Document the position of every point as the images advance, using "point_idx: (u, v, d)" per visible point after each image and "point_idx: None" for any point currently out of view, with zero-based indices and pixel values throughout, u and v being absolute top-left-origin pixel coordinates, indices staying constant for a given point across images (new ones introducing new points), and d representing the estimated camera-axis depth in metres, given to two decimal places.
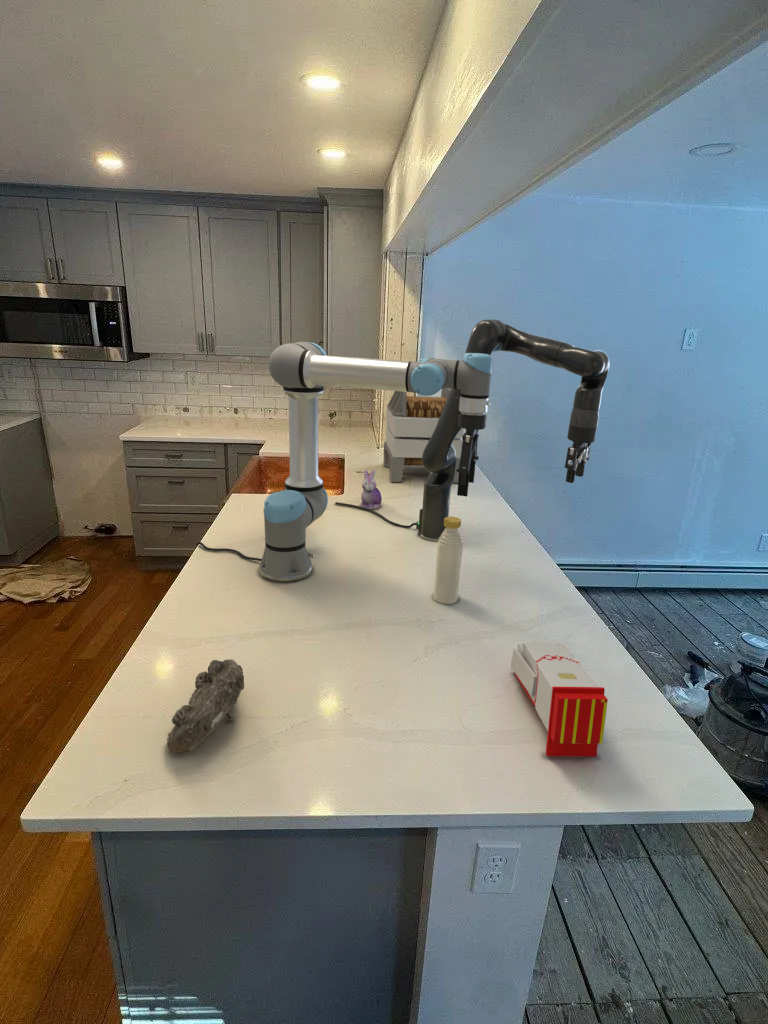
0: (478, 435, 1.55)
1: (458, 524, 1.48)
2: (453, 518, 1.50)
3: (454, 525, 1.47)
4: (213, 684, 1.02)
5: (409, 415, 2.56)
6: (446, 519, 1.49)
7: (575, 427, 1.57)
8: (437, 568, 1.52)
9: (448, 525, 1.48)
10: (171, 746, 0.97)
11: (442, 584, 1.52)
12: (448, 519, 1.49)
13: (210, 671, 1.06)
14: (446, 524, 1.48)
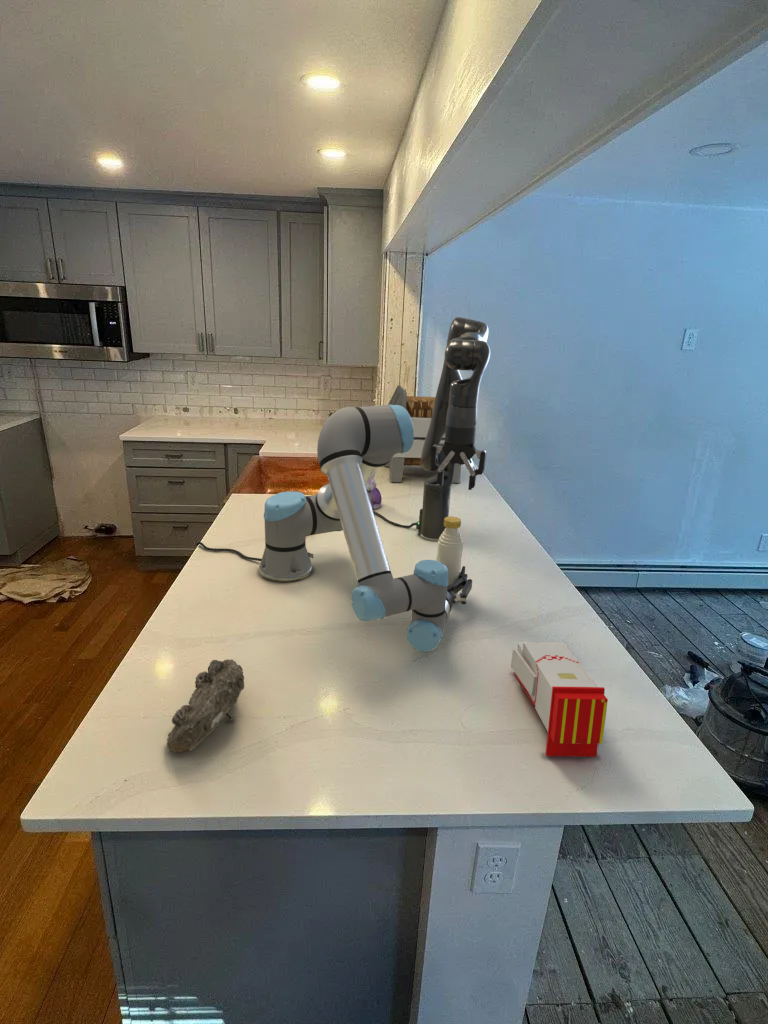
0: None
1: (458, 524, 1.48)
2: (453, 518, 1.50)
3: (454, 525, 1.47)
4: (213, 684, 1.02)
5: None
6: (446, 519, 1.49)
7: None
8: None
9: (448, 525, 1.48)
10: (171, 746, 0.97)
11: None
12: (448, 519, 1.49)
13: (210, 671, 1.06)
14: (446, 524, 1.48)
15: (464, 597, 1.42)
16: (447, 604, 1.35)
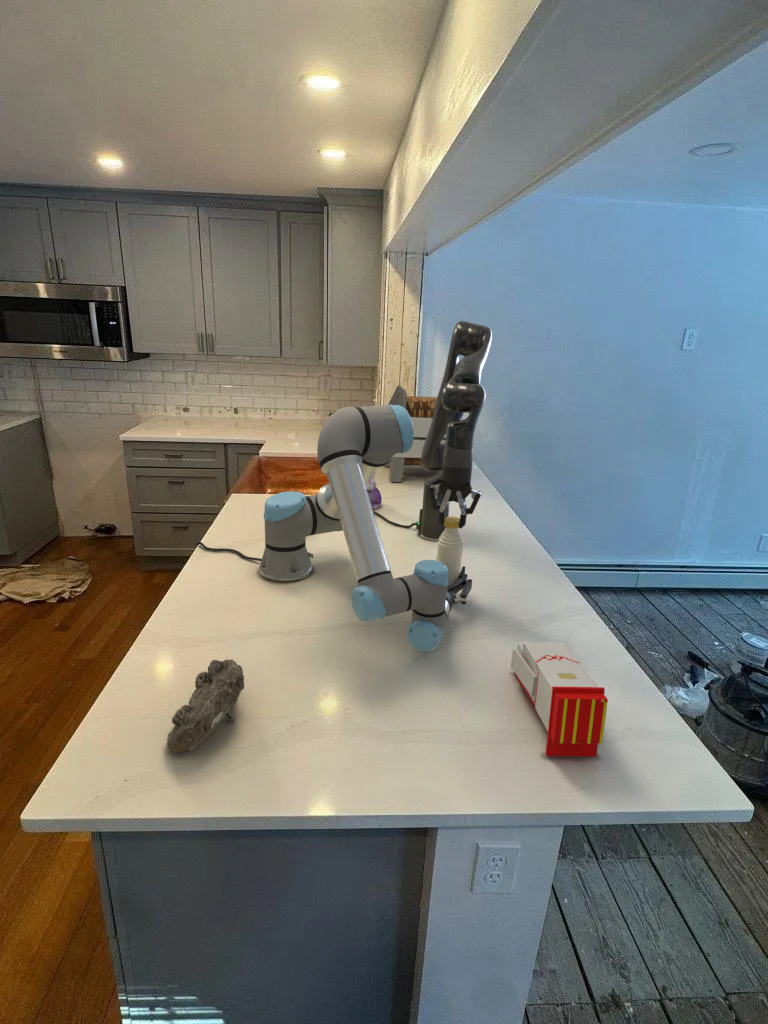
0: None
1: (458, 524, 1.48)
2: (453, 518, 1.50)
3: (454, 525, 1.47)
4: (213, 684, 1.02)
5: None
6: (446, 519, 1.49)
7: None
8: None
9: (448, 525, 1.48)
10: (171, 746, 0.97)
11: None
12: (448, 519, 1.49)
13: (210, 671, 1.06)
14: (446, 524, 1.48)
15: (464, 597, 1.42)
16: (447, 604, 1.35)
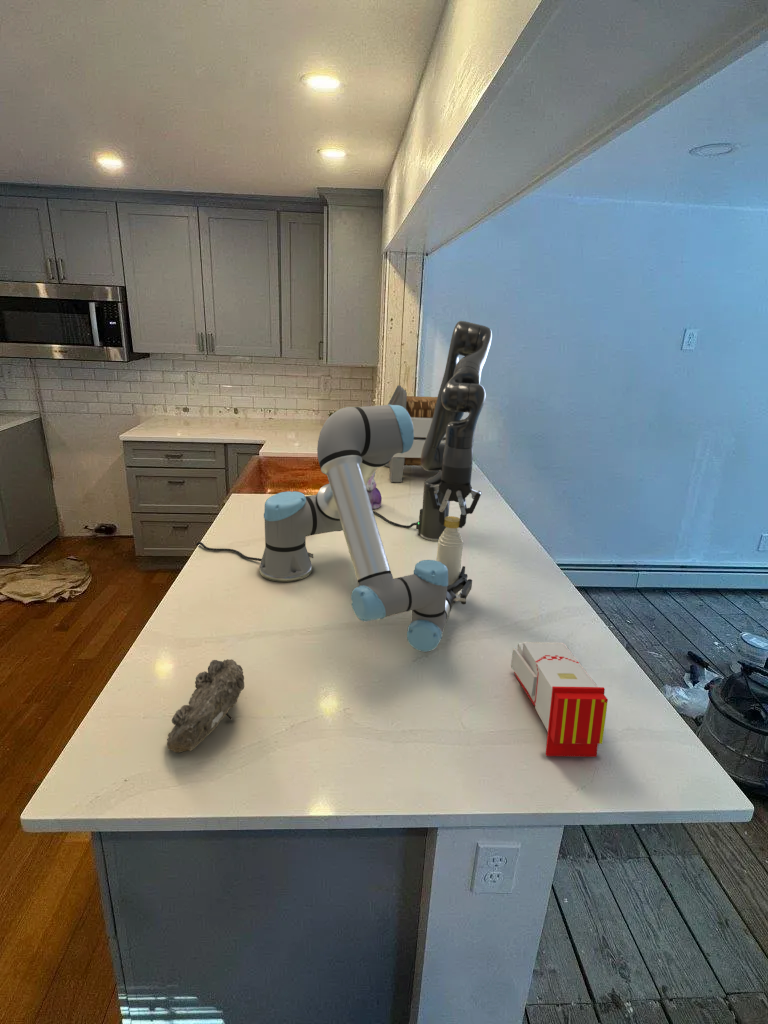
0: None
1: None
2: (449, 518, 1.49)
3: None
4: (213, 684, 1.02)
5: None
6: (453, 521, 1.47)
7: None
8: None
9: None
10: (171, 746, 0.97)
11: None
12: (453, 520, 1.48)
13: (210, 671, 1.06)
14: (457, 525, 1.48)
15: (464, 597, 1.42)
16: (447, 604, 1.35)
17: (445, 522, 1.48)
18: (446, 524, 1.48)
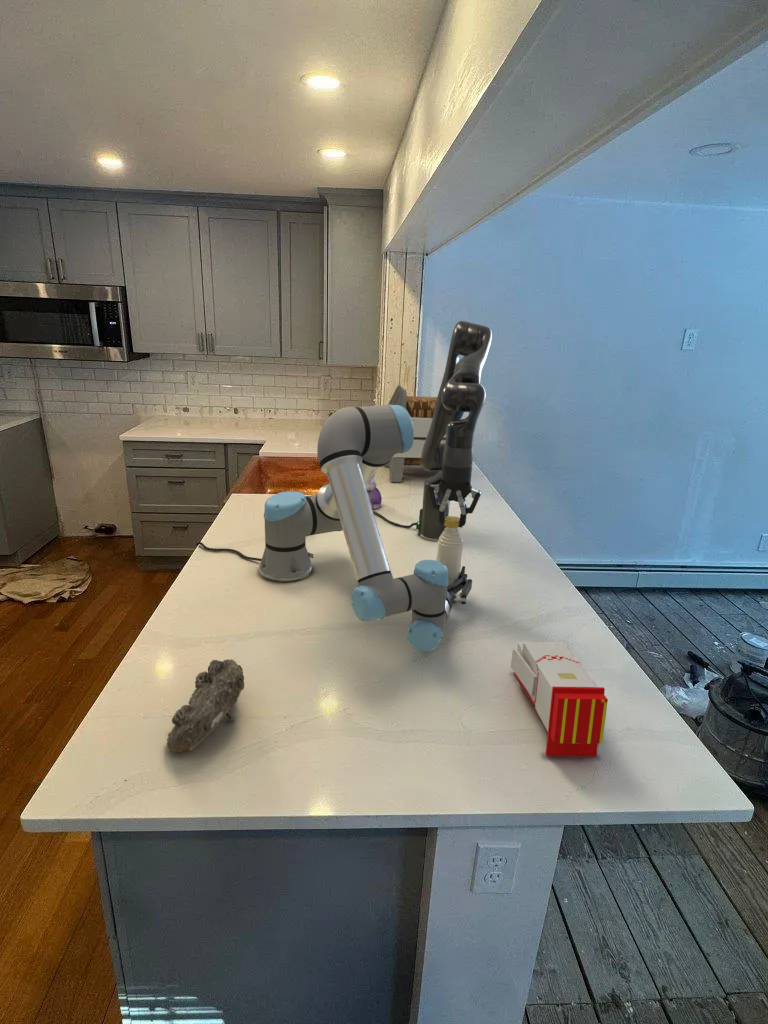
0: None
1: None
2: (451, 519, 1.48)
3: None
4: (213, 684, 1.02)
5: None
6: (458, 519, 1.49)
7: None
8: None
9: None
10: (171, 746, 0.97)
11: None
12: (456, 518, 1.49)
13: (210, 671, 1.06)
14: None
15: (464, 597, 1.42)
16: (447, 604, 1.35)
17: (456, 523, 1.47)
18: (457, 525, 1.48)
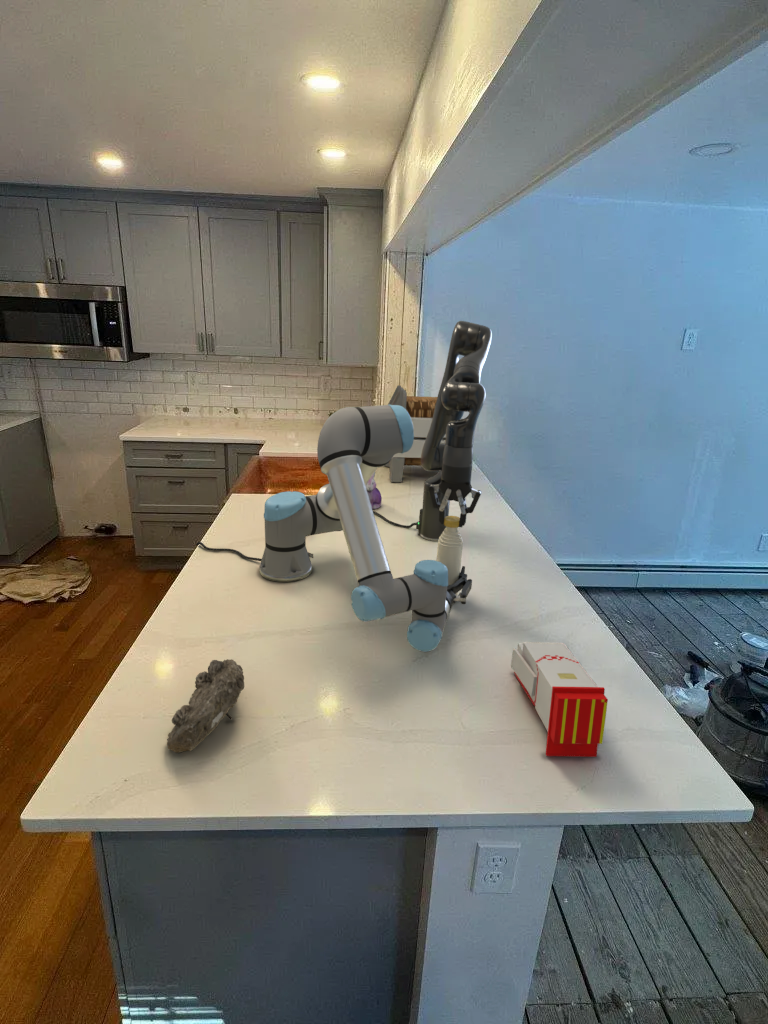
0: None
1: (445, 521, 1.48)
2: (455, 519, 1.48)
3: (444, 520, 1.49)
4: (213, 684, 1.02)
5: None
6: (452, 516, 1.50)
7: None
8: None
9: None
10: (171, 746, 0.97)
11: None
12: (452, 517, 1.50)
13: (210, 671, 1.06)
14: None
15: (464, 597, 1.42)
16: (447, 604, 1.35)
17: None
18: None
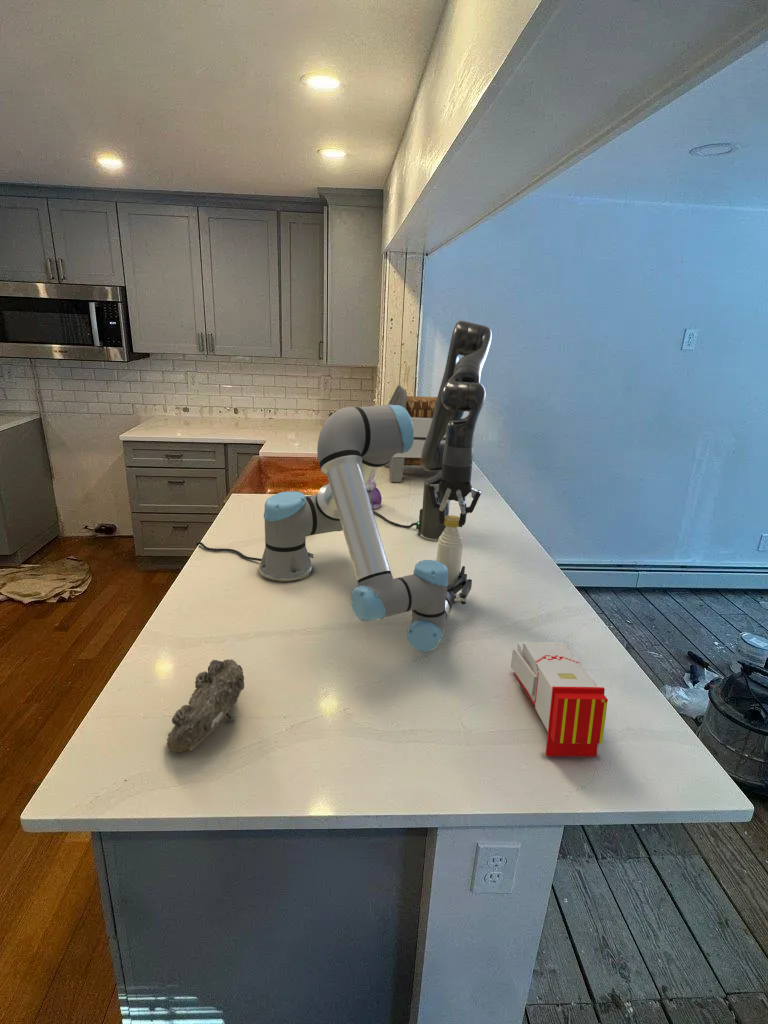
0: None
1: (455, 523, 1.47)
2: (454, 517, 1.49)
3: (451, 524, 1.47)
4: (213, 684, 1.02)
5: None
6: (446, 517, 1.49)
7: None
8: None
9: (446, 523, 1.48)
10: (171, 746, 0.97)
11: None
12: (448, 517, 1.49)
13: (210, 671, 1.06)
14: (444, 522, 1.48)
15: (464, 597, 1.42)
16: (447, 604, 1.35)
17: None
18: None
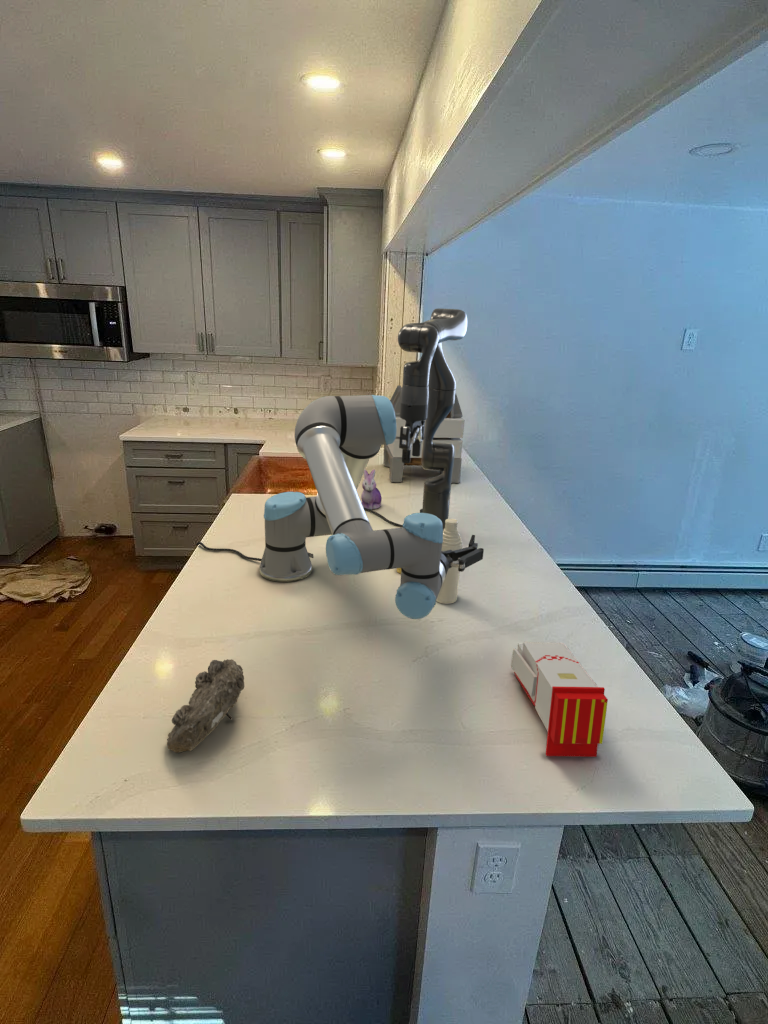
0: None
1: None
2: None
3: None
4: (213, 684, 1.02)
5: None
6: None
7: (406, 405, 1.52)
8: None
9: None
10: (171, 746, 0.97)
11: None
12: None
13: (210, 671, 1.06)
14: None
15: (461, 563, 1.23)
16: (442, 567, 1.18)
17: None
18: None
